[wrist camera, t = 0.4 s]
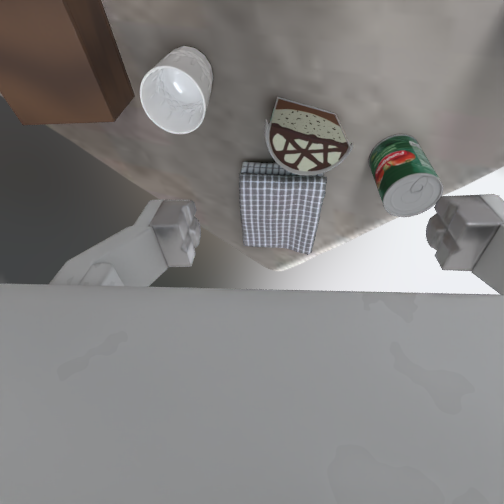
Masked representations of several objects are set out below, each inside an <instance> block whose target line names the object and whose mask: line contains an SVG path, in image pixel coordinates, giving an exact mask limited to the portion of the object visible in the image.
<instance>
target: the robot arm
mask: <svg viewBox="0 0 504 504" xmlns="http://www.w3.org/2000/svg"><path fill="white" fill-rule="evenodd" d="M434 208H435V210H436V212H437V214H435V215H434V216H433V217H431V218H430V219H429V222H428V225H427V228H426V237H427V241H428V243H429V245H430V246H431V247H432V248H434V249H436V250H437V252H436V254H435V257H436V258H437V260H438V262H439V264H440V266H441V268H442V270H458V271H472V273H473V274H475V275H476V276H477V277H478V278H480V279H481V280H482V281H484V282H485V283H486V284H488V285H489V286H490V287H492V288H493V289H494V290H496V291H497V292H498V293H499V294H501V295H490V294H487V295H486V294H443V293H401V292H355V291H354V292H353V291H352V292H351V291H309V290H308V291H307V290H264V289H263V290H262V289H259V290H258V289H219V288H172V287H148V286H149V285H150V284H151V283H153V282H154V281H155V280H156V279H157V278H158V277H159V276H160V275H161V274H162V273H163V272H164V271H166V270H167V269H168V267H191V265H192V262H193V259H194V257H195V250H194V248H195V247H197V246H198V245H199V242H200V236H201V229H200V223H199V220H198V219H197V218H196V217H195V216H194V215H195V212H196V207H195V204H194V202H193V201H192V200H151V201H149V202H148V204H147V205H146V207H145V208H144V210H143V211H142V213H141V215H140V216H139V218H138V219H137V221H136V222H135V224H134V226H132V227H127V228H125V229H123V230H122V231H120V232H118V233H116V234H115V235H113V236H111V237H109V238H108V239H106V240H104V241H102V242H100V243H99V244H97V245H95V246H93V247H92V248H90V249H88V250H86V251H85V252H83V253H81V254H79V255H77V256H76V257H74V258H72V259H70V260H68V261H67V262H66V263H65V264H64V266H63V267H62V268H61V269H60V271H59V272H58V273H57V275H56V276H55V277H54V278H53V280H52V281H51V282H50V283H49V285H41V284H0V504H504V201H503V200H502V199H501V198H500V197H499V196H498V195H495V194H486V195H470V196H469V195H466V196H441V197H440V198H439V199H438V200H437V202H436V205H435V207H434Z"/></svg>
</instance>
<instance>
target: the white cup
mask: <svg viewBox="0 0 504 504" xmlns="http://www.w3.org/2000/svg"><path fill="white" fill-rule="evenodd" d="M212 82H213V73H212V67H211V65H210V63H209V62H208V60H207V58H206V57H205V55H204V54H202V53H201V52H200V51H198V50H197V49H196V48H192V47H187V46H182V47H179V48H177V49H174V50H173V51H172V52H171V53H169V54H168V55H166V56H165V57H164V58H163V59H161V60H160V61H159V62H158V63H157V64H156V65H155V66H154V67H153V68H152V69H151V70H150V71H149V72H148V73H147V74H146V75H145V76H144V78H143V80H142V82H141V85H140V99H141V103H142V106H143V108H144V110H145V112H146V114H147V115H148V117H149V118H150V119H151V120H152V121H153V122H154V123H155V124H156V125H157V126H158V127H160V128H161V129H163V130H165V131H167V132H170V133H174V134H186V133H190V132H192V131H194V130H195V129H197V128H198V127H199V126H200V124H201V123H202V121H203V119H204V116H205V113H206V109H207V105H208V102H209V98H210V93H211V86H212Z"/></svg>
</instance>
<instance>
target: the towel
mask: <svg viewBox="0 0 504 504" xmlns="http://www.w3.org/2000/svg"><path fill="white" fill-rule="evenodd" d="M242 164H243V166H242V169H241V174H240V177H239V178H240V183H239V187H240V190H239V191H240V209H241V210H240V213H241V221H242V228H243V229H242V230H243V243H244V245H245V246H252V247H253V246H255V247H278V248H288V249H291V250H294V251H296V252H300V253H305V254H307V255H308V254H310V253H311V252H312V247H313V244H314V240H315V236H316V231H317V227H318V222H319V218H320V212H321V207H322V204H323V203H322V202H323V199H324V196H325V187H326V183H327V177H324V173H321V174H317V175H298V174H294V173H291V172H289V171H287V170H285V169H284V168H282V167H281V166H280V165H279V164H278V163H268V164H267V163H254V162H243V163H242Z"/></svg>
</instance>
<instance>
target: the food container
mask: <svg viewBox="0 0 504 504" xmlns="http://www.w3.org/2000/svg"><path fill="white" fill-rule="evenodd" d="M264 135H265V141H266V144H267V147H268V150H269V152H270V154H271V156H272V157H273V159H274V160H275V161H276V162H277V163H278V164H279V165H280V166H281V167H282V168H284V169H285V170H287V171H289V172H291V173H294V174H298V175H317V174H321V173H324V172H327V171H329V170H331V169H333V168H334V167H336V166H337V165H339V164H340V163H341V162H342V161H343V160H344V159H345V158H346V157H347V156H348V155H349V153H350V152H351V150H352V148H353V142H352V143H351V145H350V143H349V141H348V139H347V137H346V134H345V132H344V130H343V128H342V126H341V123H340V121H339V119H338V117H337V115H336V113H333V112H329V111H326V110H322V109H319V108H315V107H312V106H308V105H305V104H301V103H298V102H294V101H291V100H287V99H284V98H280V97H277V100H276V103H275V107H274V110H273V114H272V117H271V121H270V124H268V121H267V119H266V120H265V125H264Z"/></svg>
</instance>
